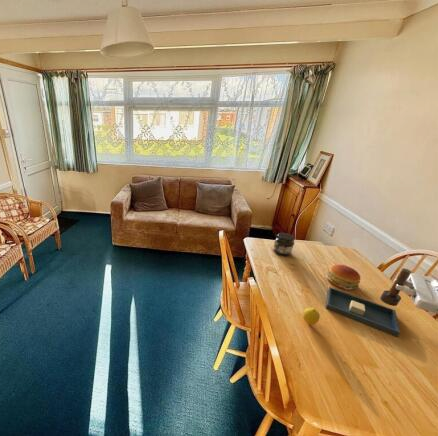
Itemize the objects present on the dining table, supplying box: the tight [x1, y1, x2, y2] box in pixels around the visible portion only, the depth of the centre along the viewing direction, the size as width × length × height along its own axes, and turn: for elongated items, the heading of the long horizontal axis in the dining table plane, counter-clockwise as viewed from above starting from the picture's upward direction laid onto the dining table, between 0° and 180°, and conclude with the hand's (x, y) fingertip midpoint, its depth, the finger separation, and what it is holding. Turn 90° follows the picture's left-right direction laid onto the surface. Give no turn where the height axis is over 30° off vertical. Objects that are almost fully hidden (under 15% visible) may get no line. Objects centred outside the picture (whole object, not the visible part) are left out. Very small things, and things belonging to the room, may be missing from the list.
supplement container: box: [272, 232, 296, 257], centre depth 145 cm, size 10×10×12 cm
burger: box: [325, 264, 361, 291], centre depth 119 cm, size 13×14×10 cm
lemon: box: [302, 307, 320, 325], centre depth 97 cm, size 6×6×8 cm
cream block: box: [349, 300, 365, 316], centre depth 103 cm, size 4×4×3 cm
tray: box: [325, 286, 401, 338], centre depth 103 cm, size 24×15×3 cm, turn 51°
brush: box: [379, 268, 412, 307], centre depth 92 cm, size 5×5×16 cm
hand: (395, 283), depth 92 cm, fingers closed on brush, 2 cm apart
